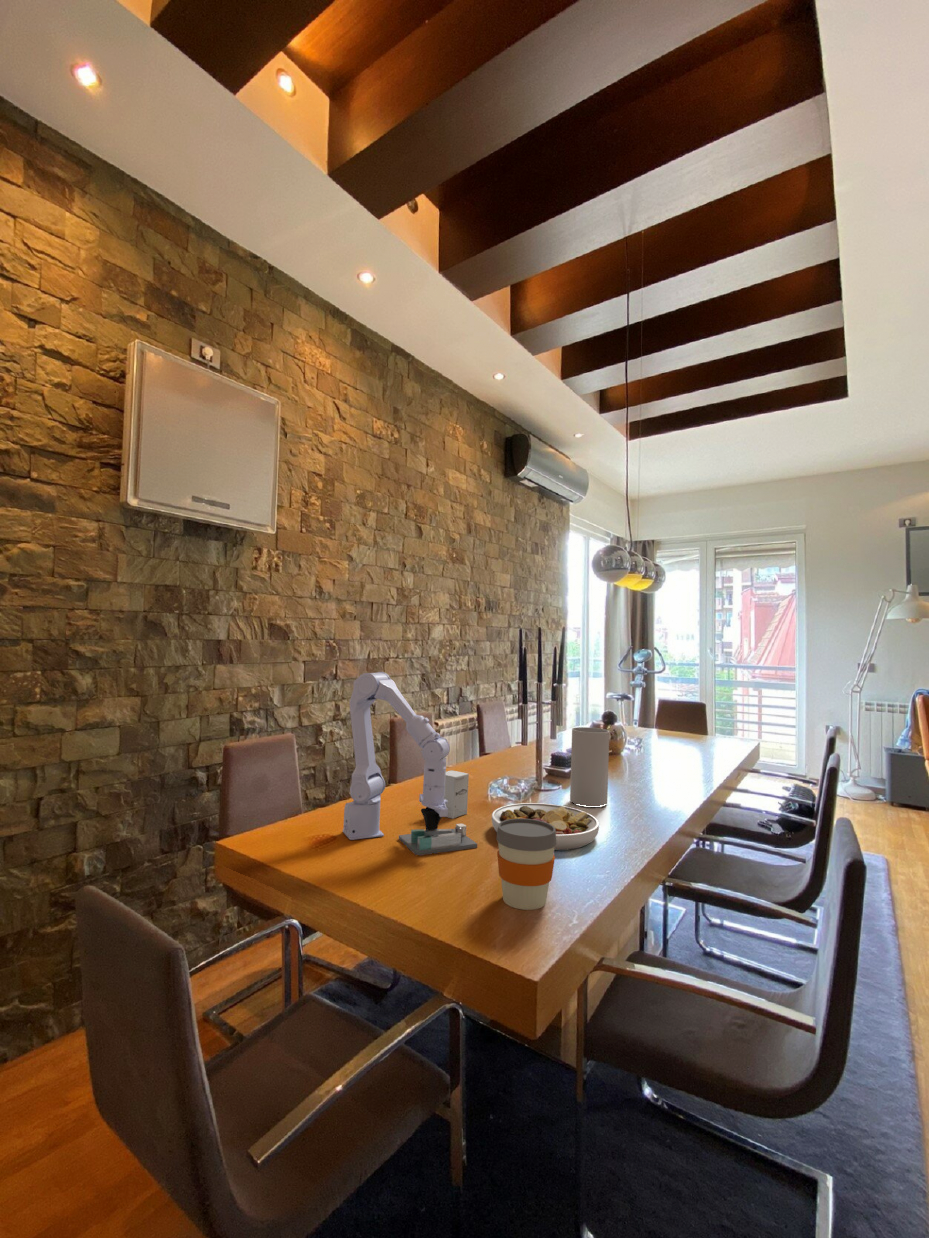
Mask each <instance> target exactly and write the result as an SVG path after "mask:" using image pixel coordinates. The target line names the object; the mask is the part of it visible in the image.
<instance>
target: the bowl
mask: <svg viewBox="0 0 929 1238" xmlns="http://www.w3.org/2000/svg"><path fill="white" fill-rule="evenodd" d="M491 813H492V814H491V824H492V826H493V829H494V831H495V832H496V833H497V831H498V824H499V823H500V822H502V821H504V820H508V819H534V820H539V821H543V822H546V823H549V824H551V825H553V826H554V827H555V829H556V842H557V844H556V846H555V847H554V851H566V850H574V849H575V850H576V849H579V848H581V847H584V846H587V845H588V844H590V843H592V842H593V841H594V840H595V838H597V836H598V833H599V830H600V822H599V820H598V819H597V818H596V817H595V816H594V815H592V814H590V813H588V812H586V811H583V810H581V809H577V808H573V807H570V806H566V805H558V804H552V803H543V802H542V803H541V802H539V803H538V802H537V803H536V802H534V803H533V802H529V803H528V802H527V803H526V802H525V803H512V804H507V805H503V806H501V807H498V808H496V809H495V810H493V812H491Z"/></svg>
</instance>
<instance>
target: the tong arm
mask: <svg viewBox="0 0 929 1238" xmlns="http://www.w3.org/2000/svg"><path fill="white" fill-rule="evenodd" d="M451 829H452V828H439V829H438V828H437V829H428V830H426V829H424V828H423V829H421V828H420V829H410V834H411V843H417V840H418V837H419V836H428V835H430V836H432V835H440V834H448V833H452V830H451Z"/></svg>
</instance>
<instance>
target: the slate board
mask: <svg viewBox="0 0 929 1238" xmlns="http://www.w3.org/2000/svg"><path fill="white" fill-rule="evenodd" d="M450 829H451V830H452V833H455V828H450ZM398 840H399V841H400V842H401V843H402V842H403V843H402V844H403V845H404V846H405V845H406V846H407V847H406V848H407V849H408V850H410V852H412V853H413V854H414V856H416V855H419V856H425V854H426V855H433V854H432V853H434V854H440V853H439V852H441V853H445V852H447V853H448V852H455V851H461V850H469V849H476V848H478V843H477V842H476V841H474V840H473V839H471V837H468V836H467V834H466V835H463V839H462V843H461V845H456V846H448V847H441V848H433V849H426V850H418V849H417V843H411V833H408V834H407V833H406V834H398Z"/></svg>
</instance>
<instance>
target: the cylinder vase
mask: <svg viewBox="0 0 929 1238" xmlns="http://www.w3.org/2000/svg"><path fill="white" fill-rule="evenodd" d="M609 749H610V730H608V729H605V728H598V727H589V726H588V727H584V726H583V727H582V726H581V727H572V728H571V754H570V755H571V756H570V758H571V759H570V783H569V784H570V786H569V787H570V788H569V790H570V792H569V801H570V802H571V803H572V802H573V803H575V804H580V805H586V806H600V805H604V804H607V805H608V798H609V797H608V794H609V793H608V792H609V791H608V790H609V789H608V788H609V756H610V754H609V753H610V750H609ZM573 803H572V804H573ZM575 804H574V805H575Z"/></svg>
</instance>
